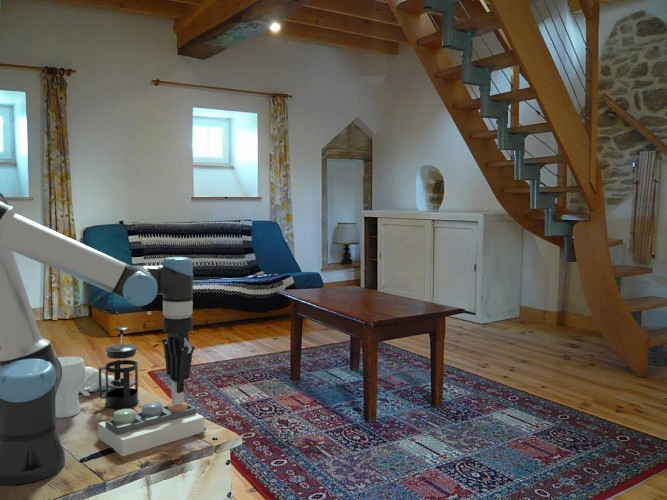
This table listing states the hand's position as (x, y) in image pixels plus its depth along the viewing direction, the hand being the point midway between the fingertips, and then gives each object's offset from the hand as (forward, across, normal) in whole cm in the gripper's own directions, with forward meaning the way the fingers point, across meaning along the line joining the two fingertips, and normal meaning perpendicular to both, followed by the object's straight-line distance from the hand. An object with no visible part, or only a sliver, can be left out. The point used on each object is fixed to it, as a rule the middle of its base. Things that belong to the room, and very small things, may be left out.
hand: (177, 403), depth 150 cm
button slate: (+1, 0, +7) cm, 7 cm away
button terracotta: (+2, 0, 0) cm, 2 cm away
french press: (+7, +27, +4) cm, 28 cm away
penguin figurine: (+7, +42, +5) cm, 43 cm away
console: (+7, 0, +7) cm, 10 cm away
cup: (+7, +30, +18) cm, 36 cm away
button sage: (+1, 0, +15) cm, 15 cm away
